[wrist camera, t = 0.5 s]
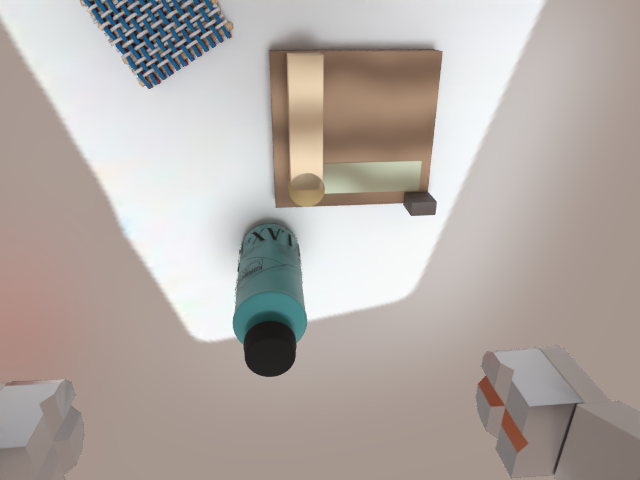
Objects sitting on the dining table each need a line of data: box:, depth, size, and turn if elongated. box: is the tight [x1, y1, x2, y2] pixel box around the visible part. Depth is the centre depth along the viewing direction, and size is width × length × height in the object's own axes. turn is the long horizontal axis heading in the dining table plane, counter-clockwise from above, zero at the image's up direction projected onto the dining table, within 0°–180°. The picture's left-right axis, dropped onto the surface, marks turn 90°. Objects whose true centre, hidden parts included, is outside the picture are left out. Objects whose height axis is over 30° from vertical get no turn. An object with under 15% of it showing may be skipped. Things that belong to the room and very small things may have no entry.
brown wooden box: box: [269, 49, 443, 216], centre depth 47 cm, size 15×16×6 cm
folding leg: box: [287, 52, 325, 207], centre depth 45 cm, size 14×3×3 cm, turn 179°
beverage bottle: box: [233, 224, 307, 377], centre depth 45 cm, size 6×7×20 cm
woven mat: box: [80, 0, 233, 89], centre depth 42 cm, size 10×11×2 cm
